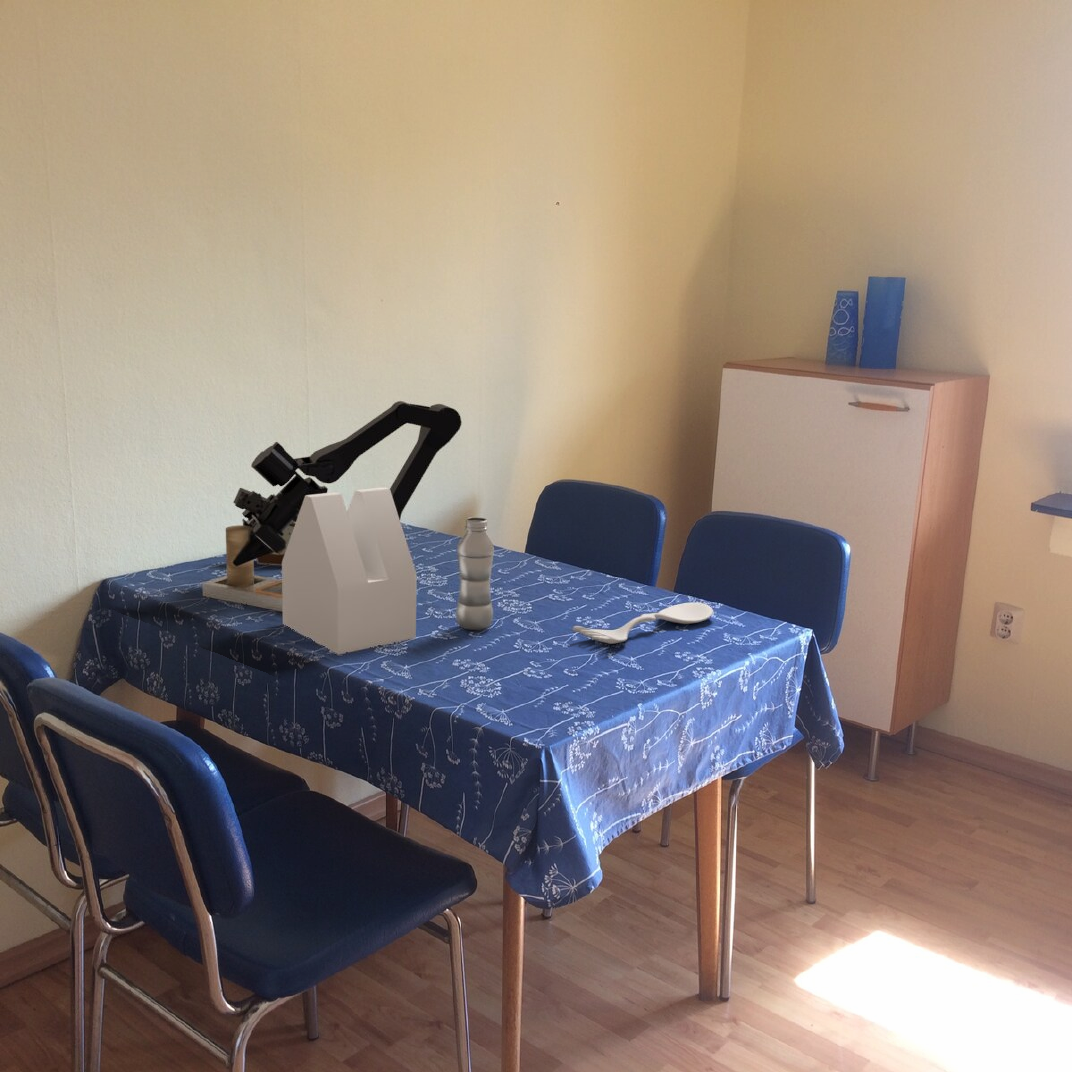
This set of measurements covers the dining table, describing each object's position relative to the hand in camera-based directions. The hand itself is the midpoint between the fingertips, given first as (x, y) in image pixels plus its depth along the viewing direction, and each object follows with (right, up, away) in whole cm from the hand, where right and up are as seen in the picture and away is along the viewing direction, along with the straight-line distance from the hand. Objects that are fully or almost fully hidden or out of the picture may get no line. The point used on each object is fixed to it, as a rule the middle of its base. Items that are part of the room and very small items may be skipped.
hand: (232, 561), depth 212 cm
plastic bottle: (+47, -12, -13) cm, 50 cm away
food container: (+4, -1, +27) cm, 27 cm away
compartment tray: (+6, -7, 0) cm, 9 cm away
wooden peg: (+1, -6, +2) cm, 7 cm away
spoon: (+79, -13, -11) cm, 80 cm away
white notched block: (+25, -12, -17) cm, 33 cm away
